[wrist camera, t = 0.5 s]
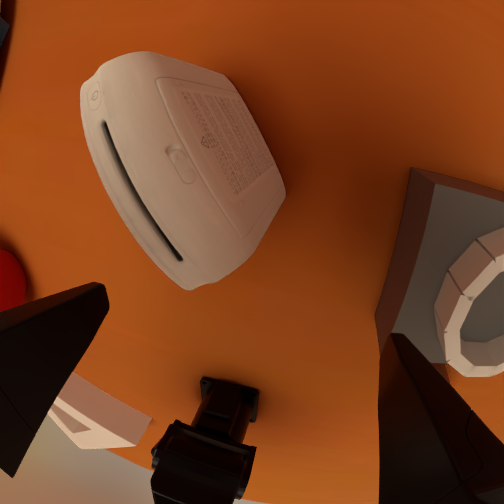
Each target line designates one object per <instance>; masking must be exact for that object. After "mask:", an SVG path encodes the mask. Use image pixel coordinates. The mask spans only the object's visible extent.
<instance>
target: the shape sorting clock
mask: <svg viewBox="0 0 504 504" xmlns="http://www.w3.org/2000/svg"><path fill="white" fill-rule="evenodd" d="M0 11H1V0H0ZM9 27H10V25H9V24H8V23H7V22H5V21H4V20H3V19H2V18H1V17H0V47H1V45H2V42H3V40H4V38H5V35H6V33H7V31H8V29H9Z"/></svg>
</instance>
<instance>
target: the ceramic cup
mask: <svg viewBox="0 0 504 504" xmlns="http://www.w3.org/2000/svg"><path fill="white" fill-rule="evenodd" d="M26 289H27V281H26V277H25V274H24V271H23V269H22V267H21V265H20V263H19V262H18V260H17V259H16V258H15V256H14V255H13V254H12V253H10V252H9V251H4V250H2V249H0V312H2V311H5V310H9V309H11V308H14V307H17V306H20V305H23V304H24V299H25V292H26Z"/></svg>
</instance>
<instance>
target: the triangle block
mask: <svg viewBox="0 0 504 504" xmlns="http://www.w3.org/2000/svg"><path fill="white" fill-rule="evenodd" d="M47 414H48V415H49V416H50V417H51V418H52V419H53V421H55V423H56V424H57V425H58V426H59V427H60V428H61V429H62V431H63V432H64V433H65V434H66V435H68V437H69V438H70V439H71V440H72V441H73V442H74V443H75V444H76V445H77V446H78V447H79V448H80V449H95V448H96V449H98V448H118V447H130V446H137V444H138V442H139V441H140V439H141V437H142V435H143V434H144V432H145V430H146V429H147V427H148V425H149V423H150V422H151V420H152V418H151V417H149V416H147V415H145V414H144V413H142V412H140V411H138V410H136V409H134V408H132V407H130V406H128V405H127V404H125V403H123V402H121V401H119V400H118V399H116V398H114V397H113V396H111V395H109V394H107V393H106V392H104V391H102V390H101V389H99V388H98V387H96V386H94V385H93V384H91V383H90V382H88V381H86V380H85V379H83V378H82V377H80V376H79V375H77V374H76V373H74V372H72V373H71V375H70V377H69V378H68V380H67V381H66V383H65V385H64V386H63V388H62V390H61V391H60V393H59V395H58V396H57V398H56V400H55V401H54V403H53V405H52V406H51V408H50V410H49V411H48V413H47Z"/></svg>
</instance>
